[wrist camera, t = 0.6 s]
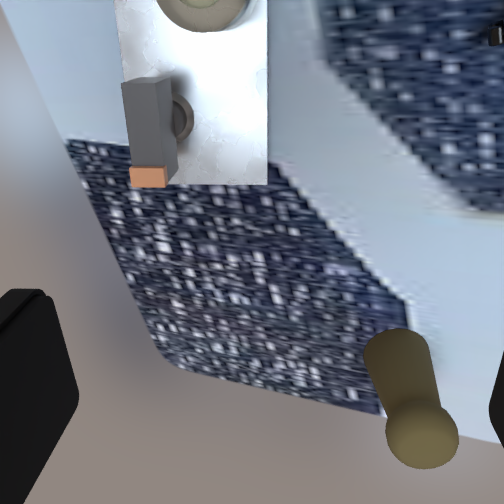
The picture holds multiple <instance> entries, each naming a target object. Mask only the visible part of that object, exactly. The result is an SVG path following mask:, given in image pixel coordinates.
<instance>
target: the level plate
mask: <svg viewBox="0 0 504 504" xmlns="http://www.w3.org/2000/svg"><path fill="white" fill-rule="evenodd" d="M114 7H115V15H116V22H117V29H118V37H119V44H120V51H121V59H122V66H123V73H124V81H125V82H126V81H129V80H132V79H135V78H138V77H170V80H171V91H172V100H174V101H176V102H178V103H179V104H180V105H181V106H182V107H183V108H184V110H185V112H186V115H187V124H186V127H185V129H184V130H183V132H182V133H181V134H180V135H178V136H177V137H176V145H177V156H178V166H179V170H178V171H177V172H176V173H175V175H174V176H173V177H172V178H171V180H170V181H169V182H168V184H220V185H267V183H268V0H114Z"/></svg>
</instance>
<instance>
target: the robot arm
mask: <svg viewBox="0 0 504 504" xmlns="http://www.w3.org/2000/svg"><path fill="white" fill-rule="evenodd" d="M78 401H79V390H78V387H77V383H76V380H75V376H74V373H73V369H72V365H71V362H70V358H69V355H68V351H67V348H66V344H65V341H64V337H63V334H62V330H61V327H60V323H59V319H58V316H57V312H56V309H55V305H54V302H53V300H52V298H51V297H50V296H46V294H45V293H44V292H43V290H40V289H11V290H9V291H8V292H7V293H5V294H4V295H3V296H2V297H1V298H0V504H23V503H24V502H25V499H26V498H27V496H28V495H29V492H30V491H31V489H32V487H33V486H34V484H35V482H36V480H37V478H38V477H39V475H40V473H41V471H42V469H43V468H44V466H45V464H46V462H47V460H48V459H49V457H50V455H51V453H52V451H53V450H54V448H55V446H56V444H57V442H58V440H59V439H60V437H61V435H62V434H63V432H64V430H65V428H66V426H67V425H68V423H69V421H70V419H71V418H72V416H73V414H74V412H75V410H76V408H77V406H78ZM489 417H490V421H491V423H492V426H493V428H494V430H495V432H496V434H497V436H498V438H499V440H500V442H501V444H502V446H503V448H504V352H503V356H502V360H501V363H500V367H499V370H498V374H497V378H496V381H495V385H494V389H493V392H492V396H491V399H490V403H489Z"/></svg>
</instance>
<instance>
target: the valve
mask: <svg viewBox="0 0 504 504" xmlns="http://www.w3.org/2000/svg"><path fill="white" fill-rule="evenodd" d="M487 32H488V44H489V46H497V45H501V44H504V24H503V20H501V21H497V22H494V23H491V24H490V25H489V29H488V30H487Z"/></svg>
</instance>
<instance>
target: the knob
mask: <svg viewBox="0 0 504 504" xmlns="http://www.w3.org/2000/svg"><path fill="white" fill-rule="evenodd" d="M121 89H122V96H123V103H124V110H125V117H126V125H127V132H128V139H129V146H130V153H131V160H132V166H131V167H130V168H129V171H130V178H131V184H132V187H166V186H167V184H168V182H169V181H170V180H171V178H172V177H173V176H174V175H175V173H176V172H177V171H178V170H179V166H178V156H177V145H176V137H177V136H178V135H180V134H181V133H182V132H183V130H184V129H185V127H186V124H187V115H186V112H185V110H184V108H183V107H182V106H181V105H180V104H179V103H178V102H176V101H174V100H172V91H171V80H170V77H138V78H135V79H132V80H129V81H126V82H123V83H121Z"/></svg>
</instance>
